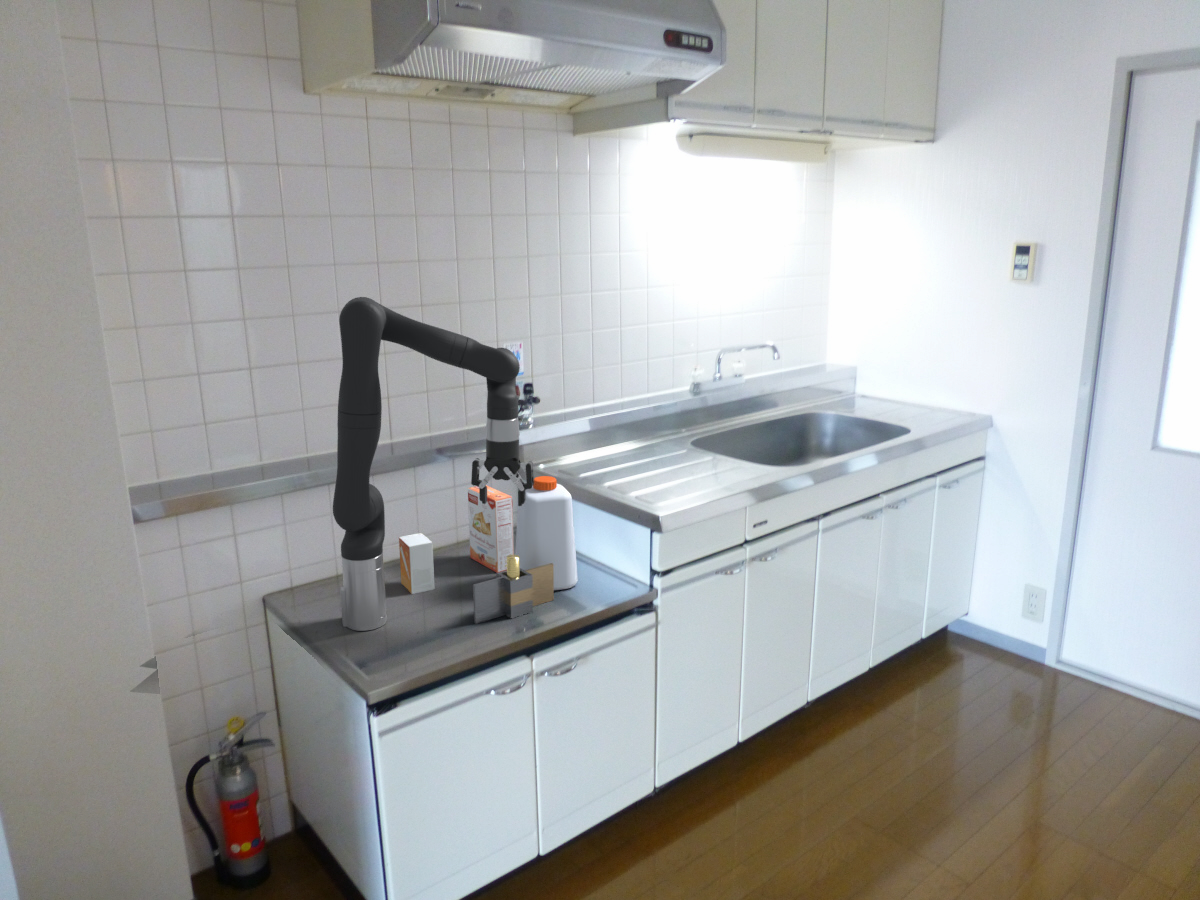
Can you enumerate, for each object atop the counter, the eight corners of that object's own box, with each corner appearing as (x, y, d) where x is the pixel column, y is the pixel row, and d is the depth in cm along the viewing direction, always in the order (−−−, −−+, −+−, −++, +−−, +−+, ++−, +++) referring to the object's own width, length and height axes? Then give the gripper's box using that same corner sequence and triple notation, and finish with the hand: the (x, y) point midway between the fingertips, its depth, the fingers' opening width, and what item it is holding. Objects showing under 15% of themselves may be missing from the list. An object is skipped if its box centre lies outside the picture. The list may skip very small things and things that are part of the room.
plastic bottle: (581, 589, 223) (581, 484, 216) (524, 596, 219) (522, 489, 212) (565, 567, 237) (565, 468, 230) (511, 573, 233) (509, 473, 226)
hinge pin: (506, 613, 209) (505, 558, 205) (509, 608, 212) (508, 554, 208) (518, 614, 208) (517, 559, 205) (521, 608, 211) (520, 554, 208)
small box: (400, 583, 226) (398, 536, 222) (424, 579, 229) (421, 532, 226) (411, 594, 219) (408, 546, 216) (435, 589, 222) (433, 541, 219)
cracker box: (468, 559, 243) (466, 487, 238) (487, 554, 247) (485, 483, 241) (496, 574, 232) (494, 499, 227) (514, 568, 236) (513, 495, 231)
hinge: (481, 627, 201) (480, 589, 199) (468, 618, 206) (467, 580, 203) (560, 603, 214) (559, 567, 212) (545, 595, 219) (545, 559, 217)
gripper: (467, 438, 196) (468, 507, 200) (530, 442, 194) (529, 511, 198) (476, 431, 203) (476, 497, 207) (536, 434, 201) (535, 501, 205)
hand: (502, 504), depth 202 cm, fingers open, 8 cm apart
